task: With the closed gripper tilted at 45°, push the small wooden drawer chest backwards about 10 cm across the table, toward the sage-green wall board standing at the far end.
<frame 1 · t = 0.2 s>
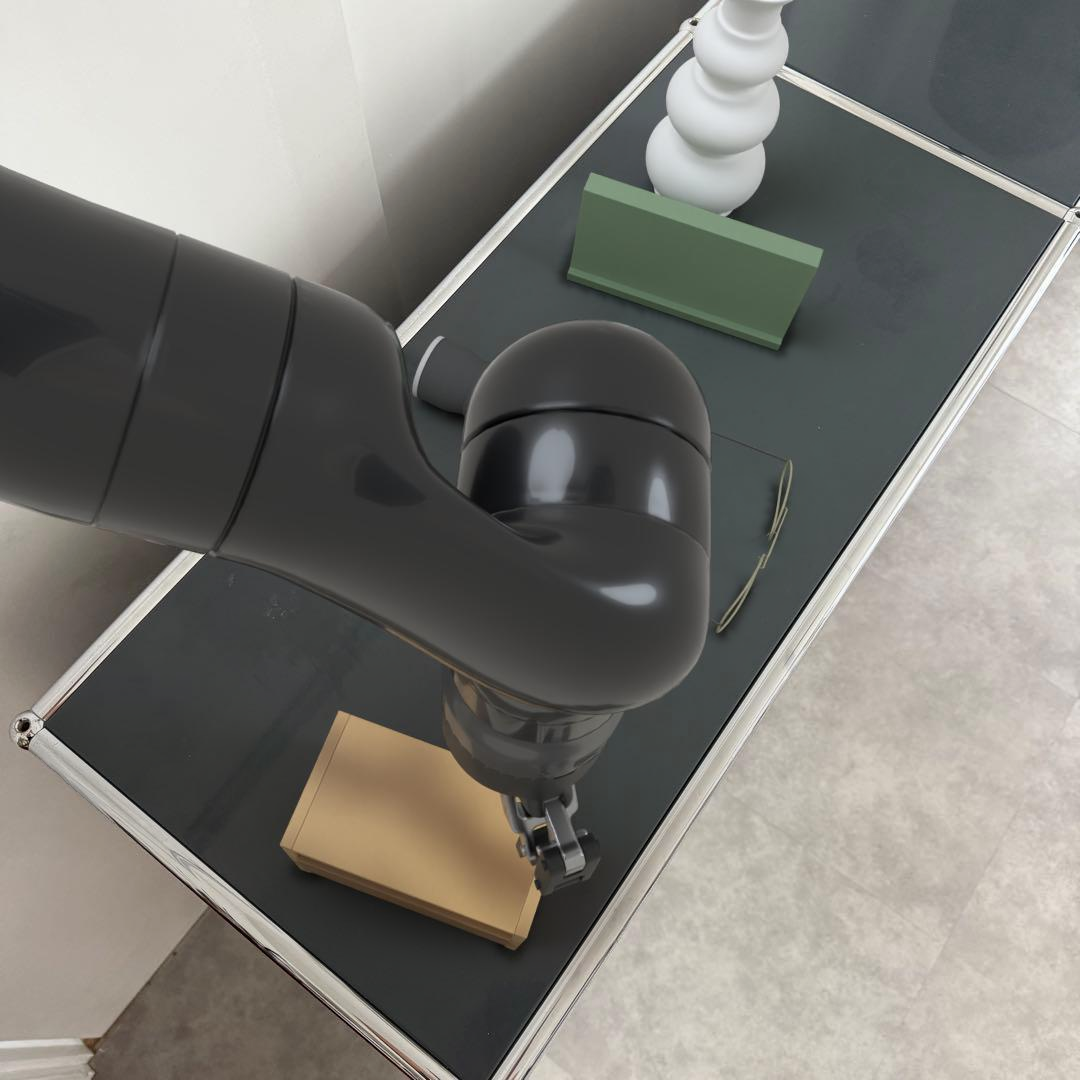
hand: (509, 770, 60), 21 cm above the table, tool pointing down, fingers open, 8 cm apart
eyeglasses: (677, 526, 91), on the table
flashlight: (504, 421, 93), on the table
wall board: (676, 300, 100), on the table
vase: (694, 195, 105), on the table
wooden drawer chest: (430, 847, 78), on the table
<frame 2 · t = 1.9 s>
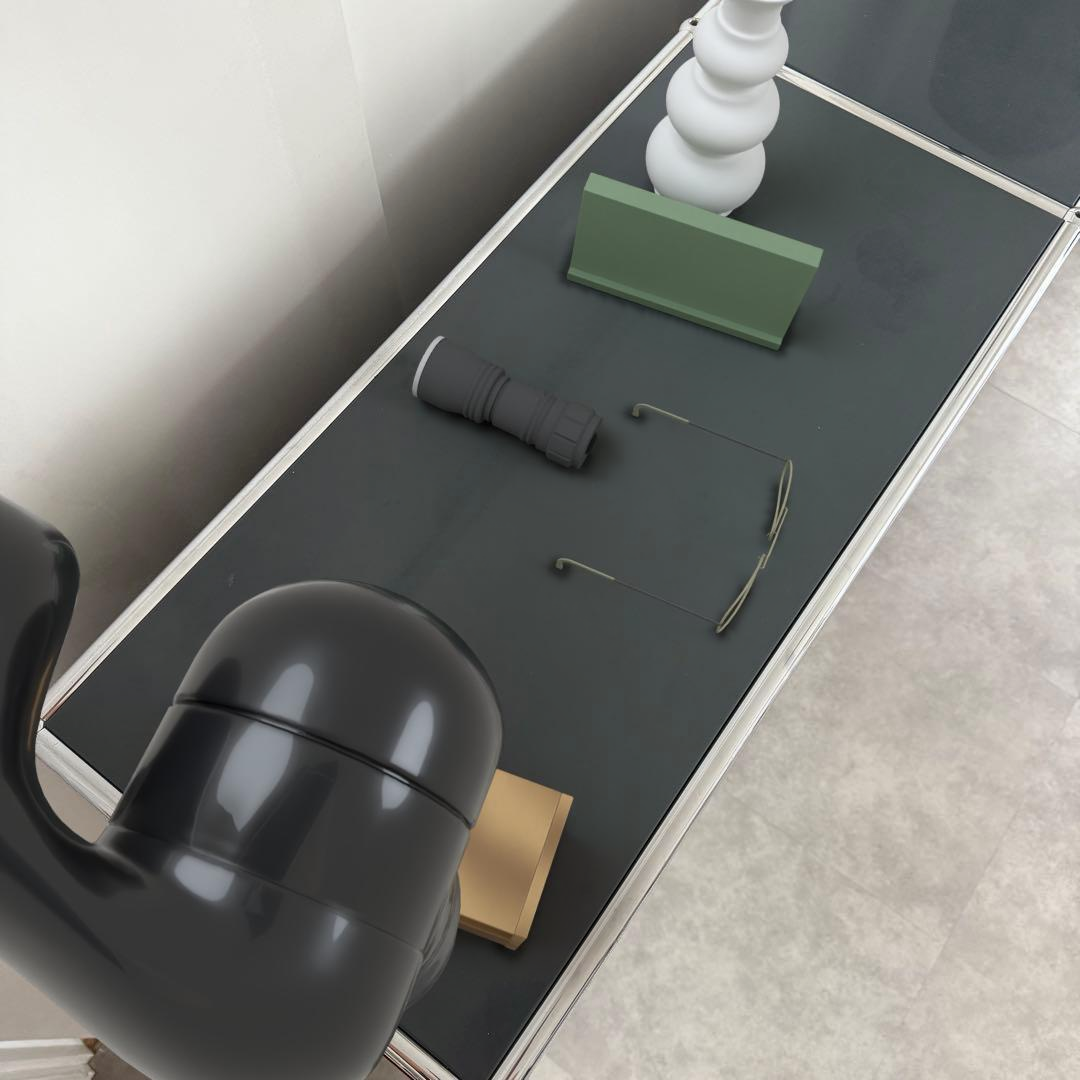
hand: (376, 942, 54), 23 cm above the table, tool pointing down, fingers closed
nothing on the table moved.
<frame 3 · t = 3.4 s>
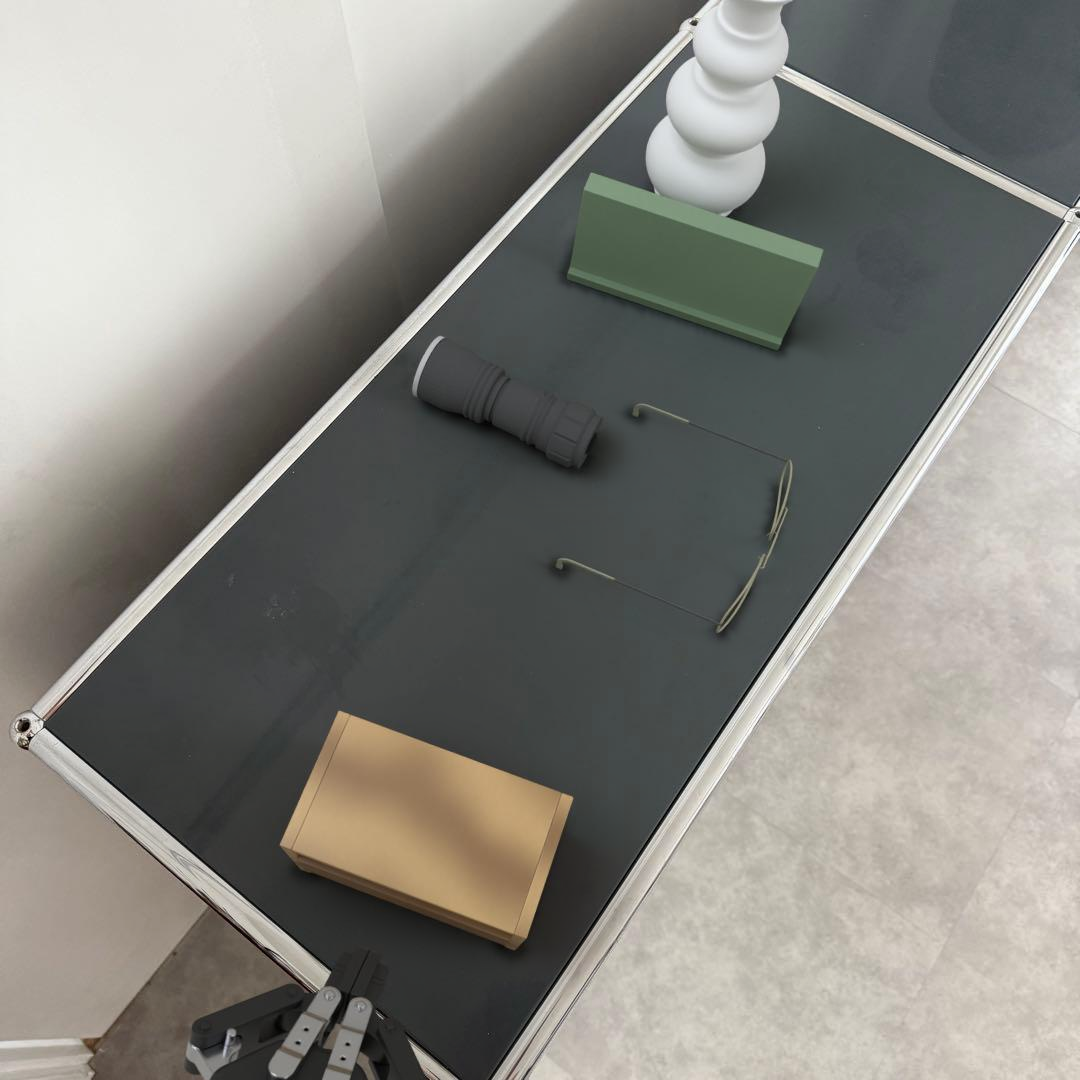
hand: (366, 961, 60), 16 cm above the table, tool tilted 45°, fingers closed
nothing on the table moved.
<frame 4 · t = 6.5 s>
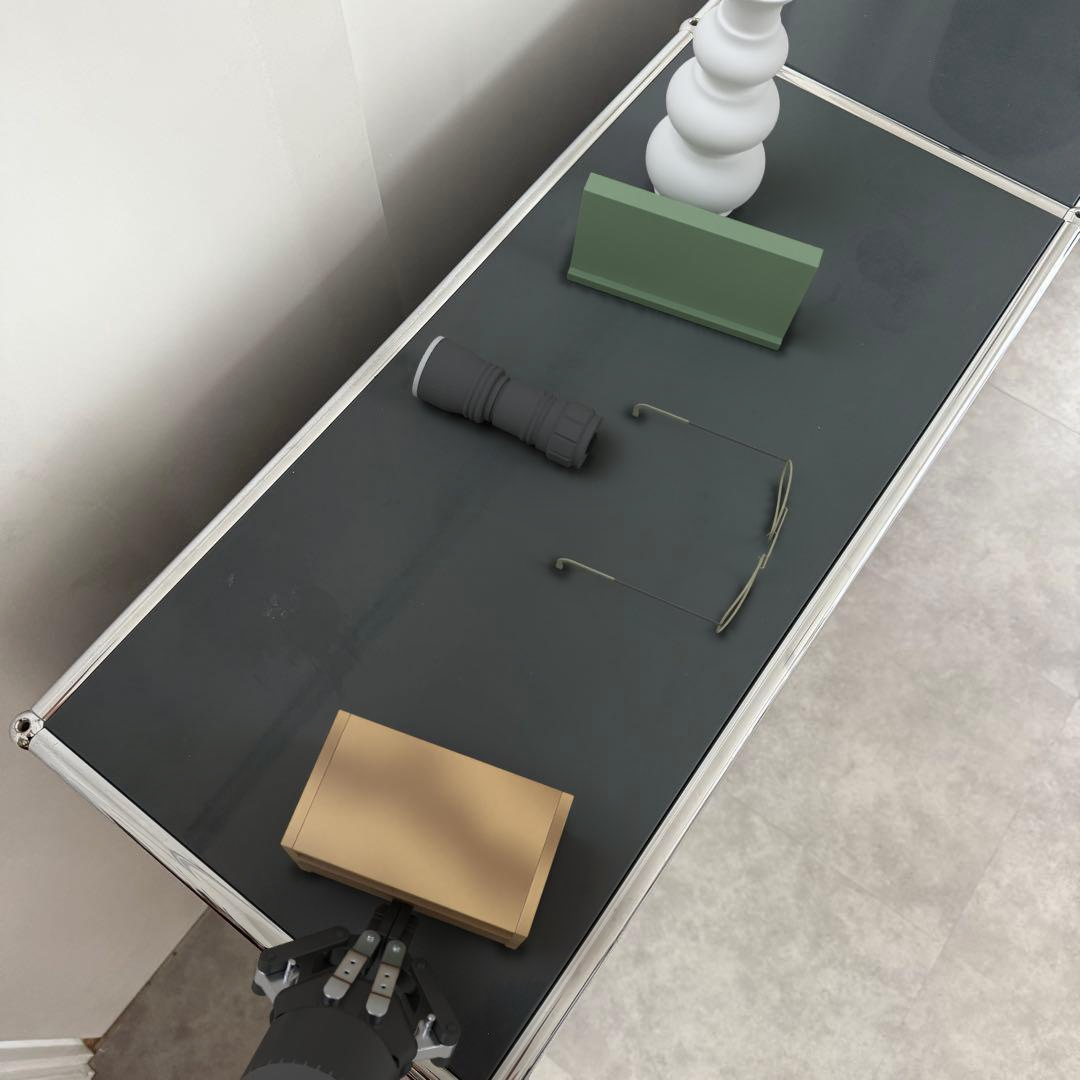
hand: (400, 912, 71), 5 cm above the table, tool tilted 45°, fingers closed
wooden drawer chest: (430, 846, 78), on the table, touching gripper
everything else where it was.
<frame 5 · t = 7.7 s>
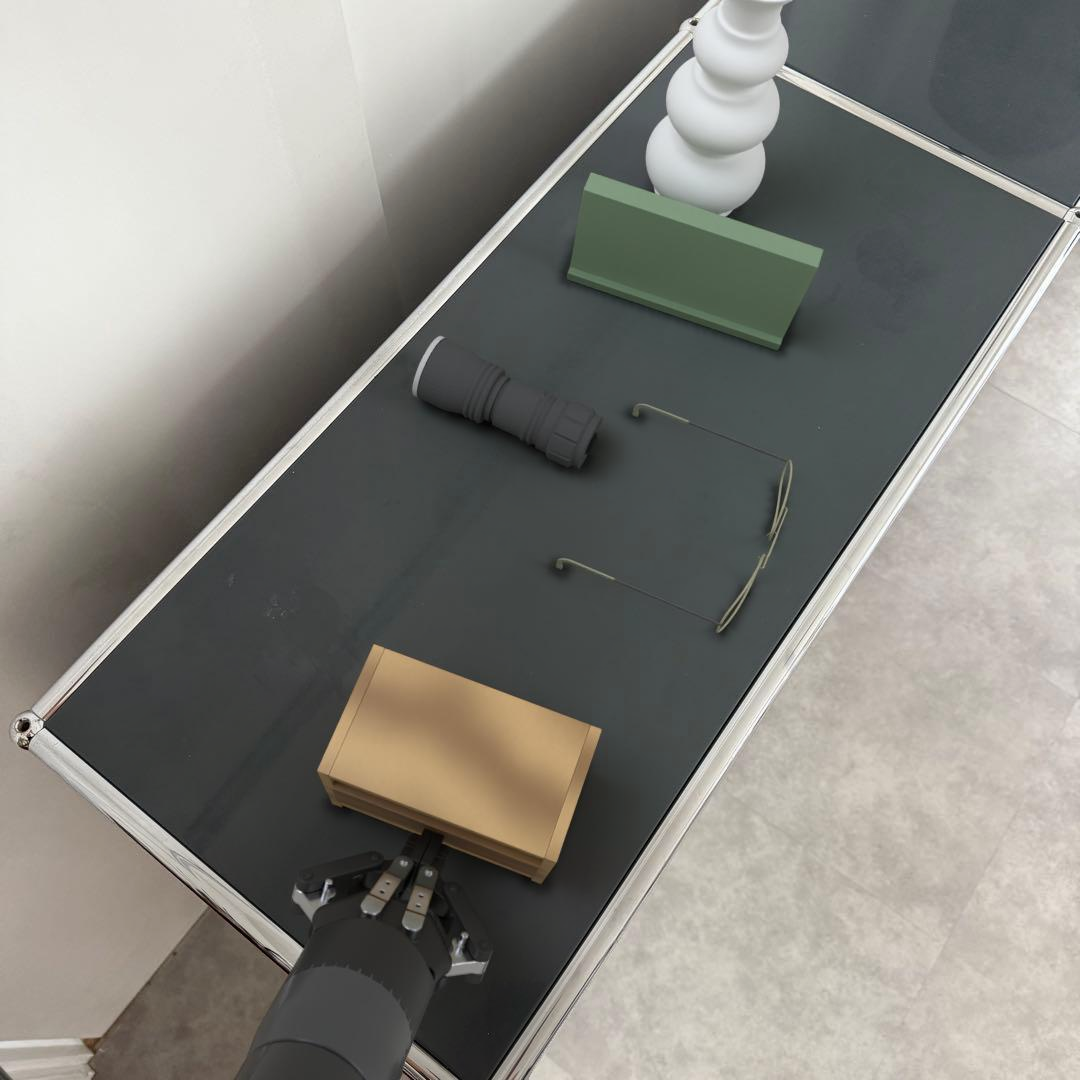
hand: (430, 842, 73), 5 cm above the table, tool tilted 45°, fingers closed
wooden drawer chest: (459, 784, 80), on the table, touching gripper
everything else where it was.
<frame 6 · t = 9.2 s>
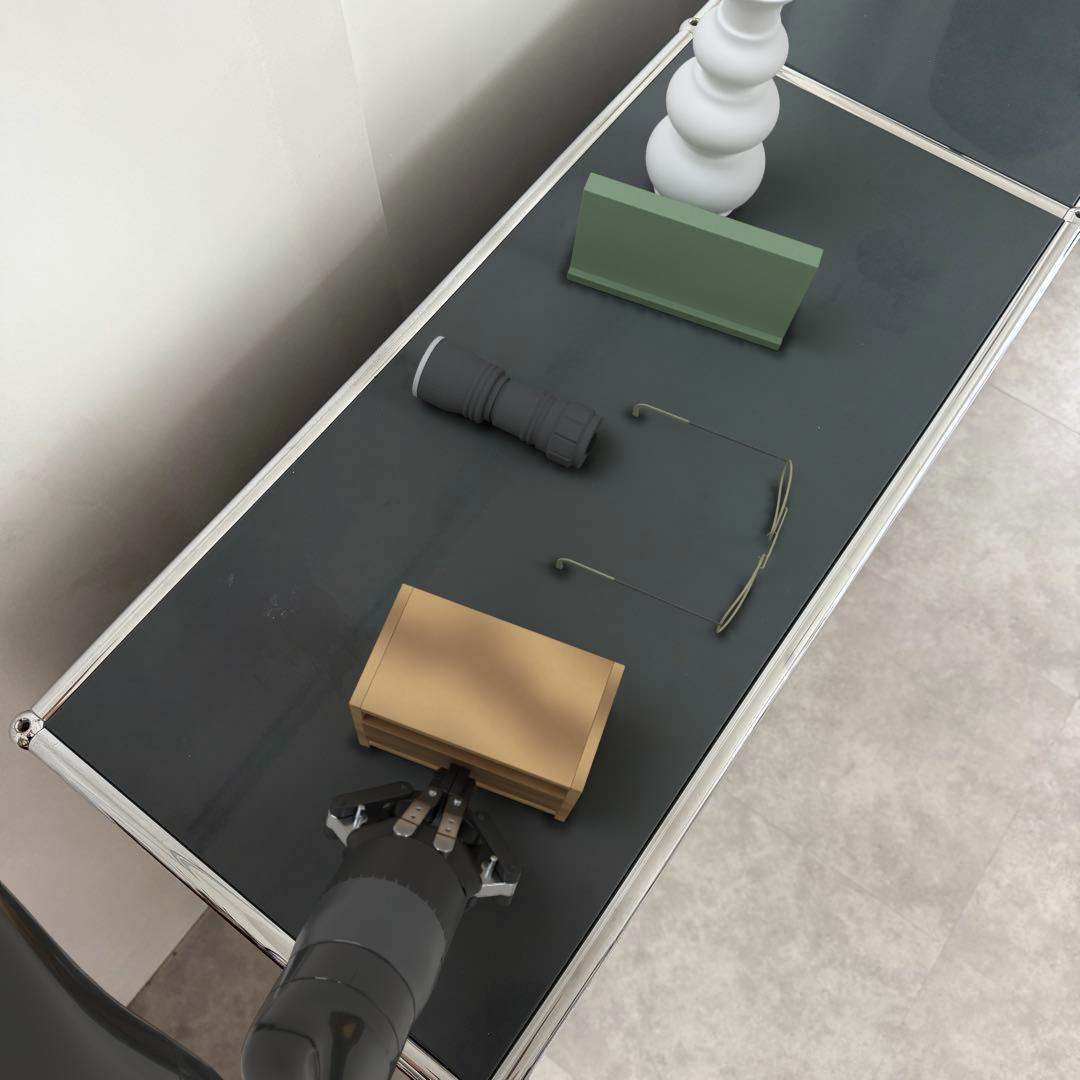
hand: (457, 777, 75), 5 cm above the table, tool tilted 45°, fingers closed
wooden drawer chest: (483, 726, 82), on the table, touching gripper
everything else where it was.
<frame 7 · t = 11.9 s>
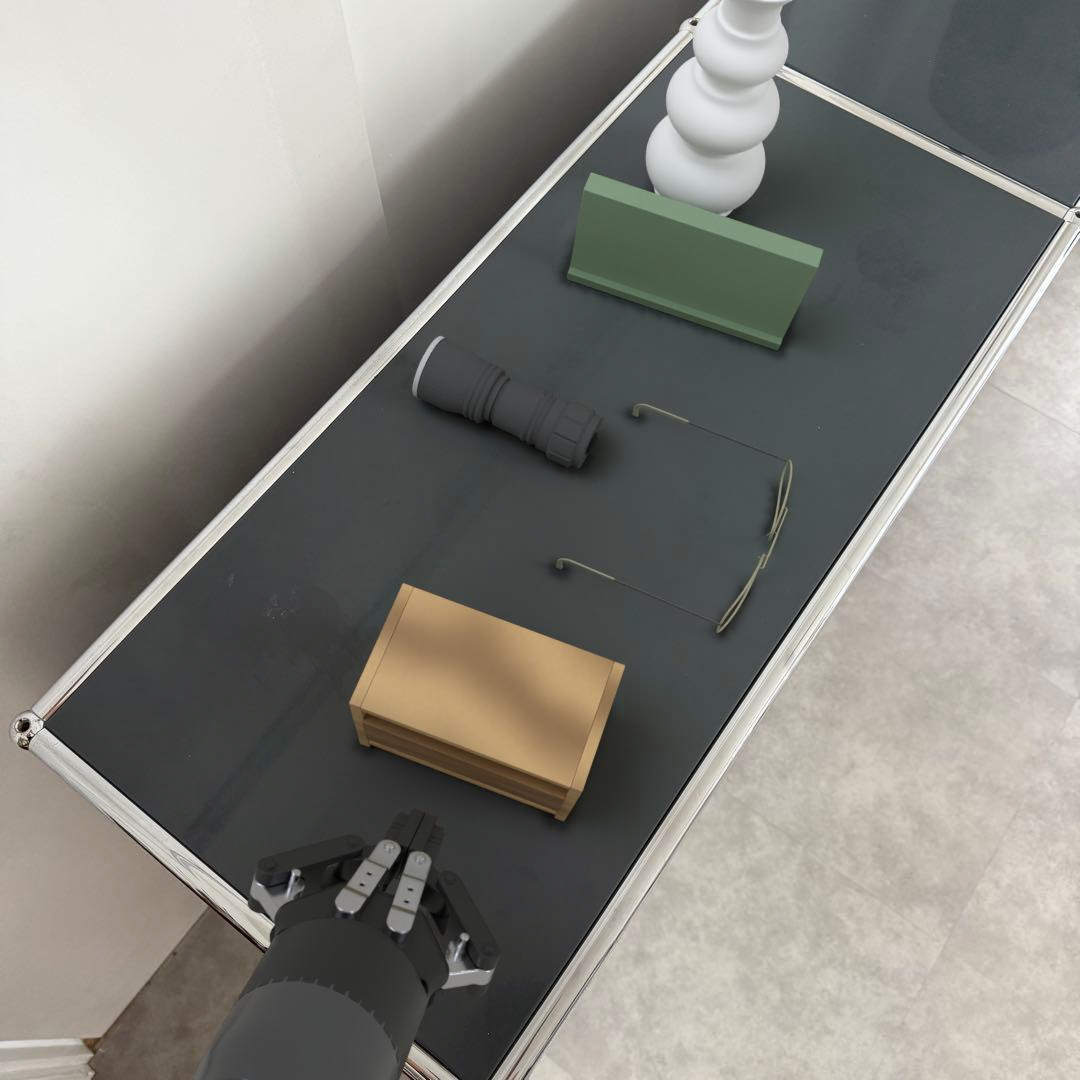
hand: (421, 824, 61), 19 cm above the table, tool tilted 45°, fingers closed
wooden drawer chest: (483, 726, 82), on the table
everything else where it was.
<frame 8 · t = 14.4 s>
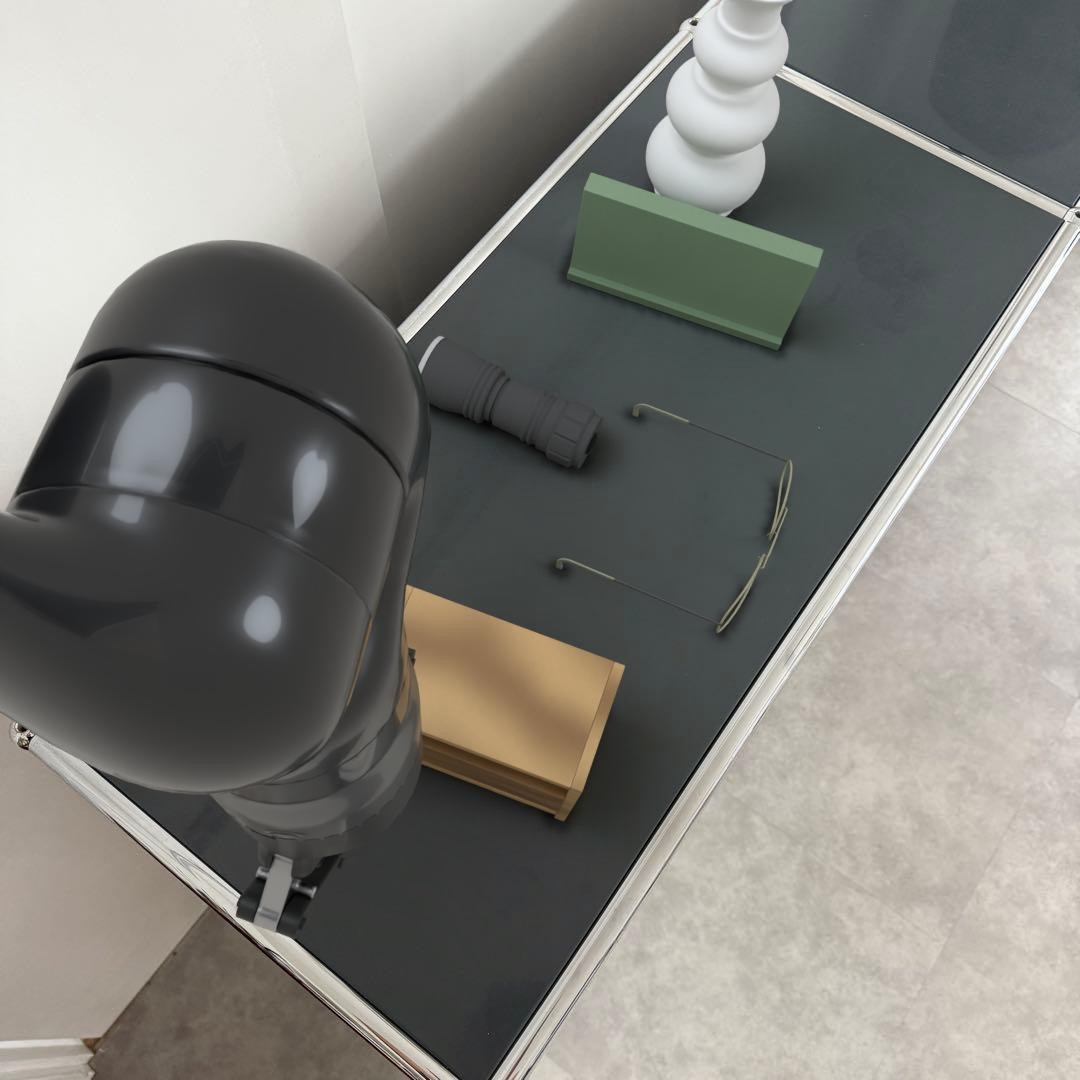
hand: (347, 815, 52), 27 cm above the table, tool pointing down, fingers closed
nothing on the table moved.
at the end: wooden drawer chest inside the target area (1.0 cm from its centre), on the table; wooden drawer chest 42.8 cm from the wall board (horizontally); wooden drawer chest tilted 0° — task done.
